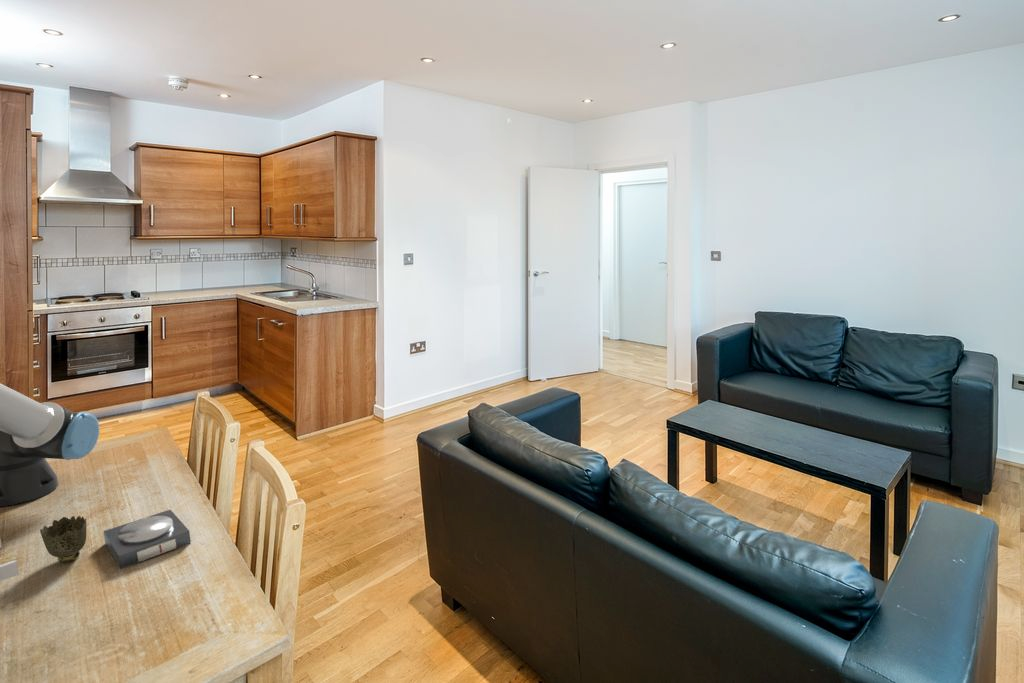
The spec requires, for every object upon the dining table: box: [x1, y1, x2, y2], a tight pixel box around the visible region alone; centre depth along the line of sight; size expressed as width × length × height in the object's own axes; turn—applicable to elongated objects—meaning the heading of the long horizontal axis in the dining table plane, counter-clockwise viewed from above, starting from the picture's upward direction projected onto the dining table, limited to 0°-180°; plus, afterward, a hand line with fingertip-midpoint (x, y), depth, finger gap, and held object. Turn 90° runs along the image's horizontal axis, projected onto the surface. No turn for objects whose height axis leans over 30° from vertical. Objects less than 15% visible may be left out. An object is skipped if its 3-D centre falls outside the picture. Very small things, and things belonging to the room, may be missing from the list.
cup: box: [39, 515, 87, 564], centre depth 114 cm, size 8×7×8 cm
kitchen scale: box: [103, 509, 191, 569], centre depth 120 cm, size 14×13×4 cm
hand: (8, 553), depth 107 cm, fingers open, 13 cm apart
